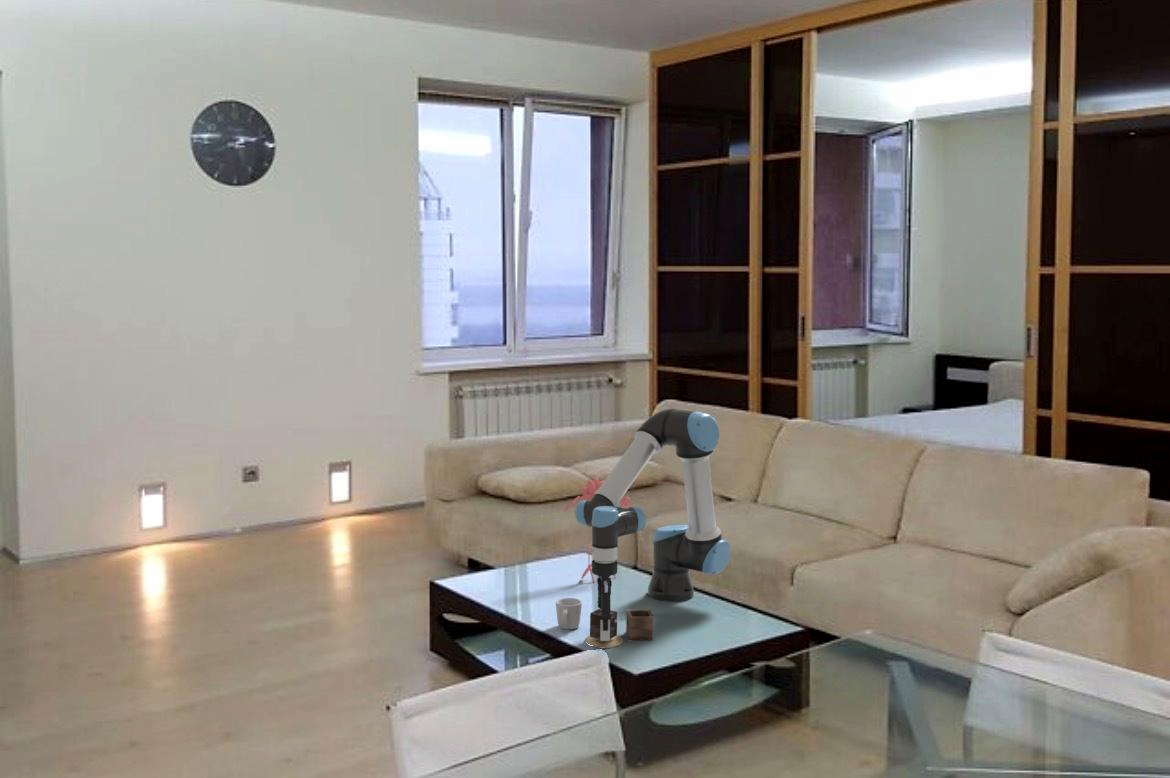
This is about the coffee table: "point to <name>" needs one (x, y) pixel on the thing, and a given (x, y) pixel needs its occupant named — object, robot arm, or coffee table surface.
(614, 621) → the box
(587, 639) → the coaster
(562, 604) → the cup
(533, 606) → the coffee table surface
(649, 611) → the pen pot
